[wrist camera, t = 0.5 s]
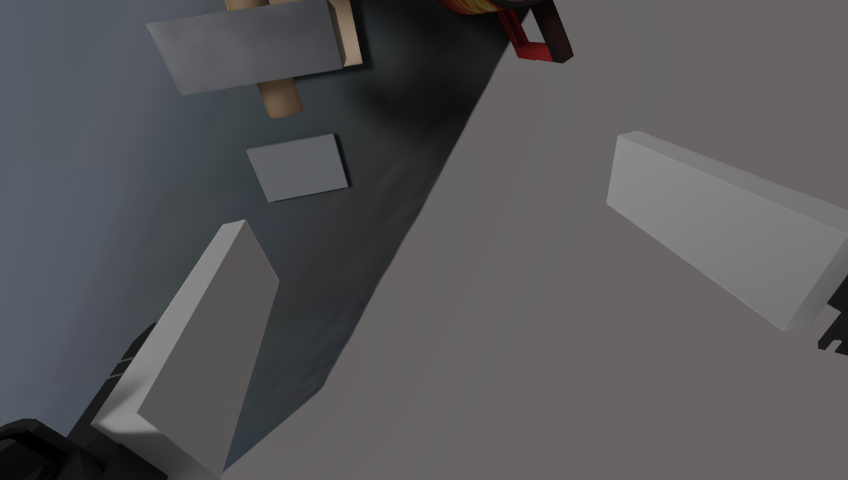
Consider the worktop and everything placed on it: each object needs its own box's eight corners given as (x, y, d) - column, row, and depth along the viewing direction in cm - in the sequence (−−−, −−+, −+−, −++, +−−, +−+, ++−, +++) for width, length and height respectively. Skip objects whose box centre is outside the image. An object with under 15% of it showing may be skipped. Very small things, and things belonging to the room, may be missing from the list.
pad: (247, 148, 34) (245, 150, 34) (333, 132, 35) (333, 134, 35) (269, 200, 38) (268, 202, 37) (348, 184, 38) (347, 186, 38)
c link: (232, 77, 23) (181, 95, 16) (211, 26, 21) (145, 23, 15) (346, 58, 24) (342, 68, 17) (335, 7, 22) (325, -4, 15)
